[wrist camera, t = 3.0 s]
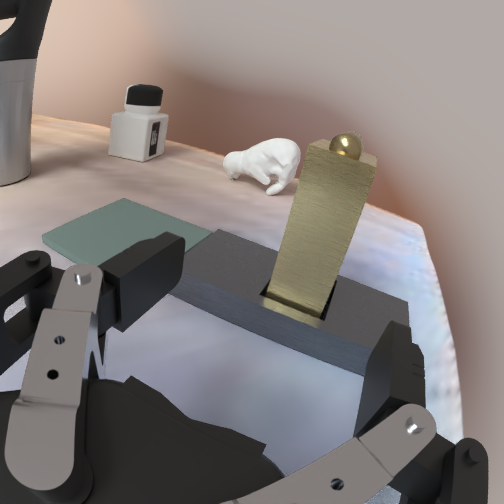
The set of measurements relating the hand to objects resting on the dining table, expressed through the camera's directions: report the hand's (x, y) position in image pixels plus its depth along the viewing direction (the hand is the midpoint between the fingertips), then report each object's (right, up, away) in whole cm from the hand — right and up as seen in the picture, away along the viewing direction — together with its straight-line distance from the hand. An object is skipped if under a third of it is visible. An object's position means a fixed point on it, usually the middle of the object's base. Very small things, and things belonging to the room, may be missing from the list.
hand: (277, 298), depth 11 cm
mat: (-13, +3, +18) cm, 22 cm away
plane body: (+2, -3, +14) cm, 14 cm away
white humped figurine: (0, +12, +40) cm, 42 cm away
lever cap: (+2, -3, +14) cm, 14 cm away
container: (-22, +19, +43) cm, 52 cm away
